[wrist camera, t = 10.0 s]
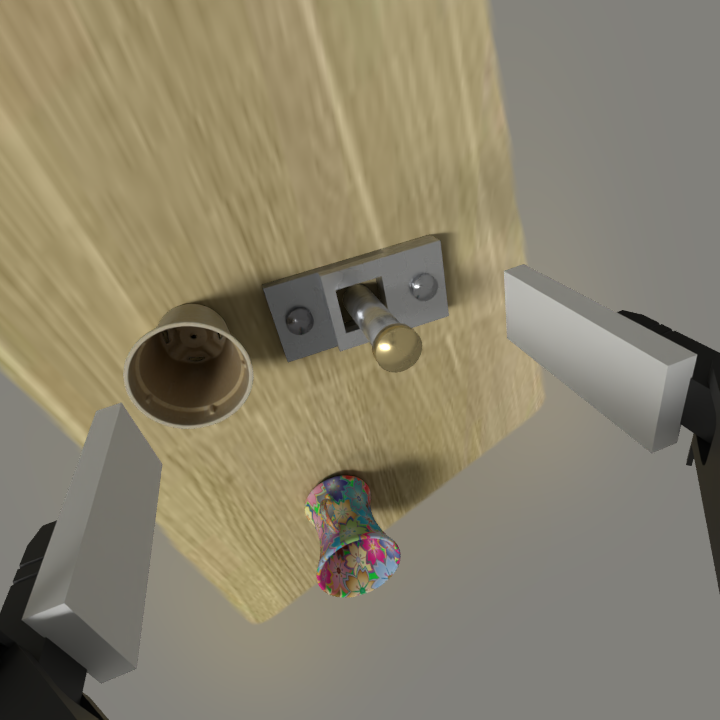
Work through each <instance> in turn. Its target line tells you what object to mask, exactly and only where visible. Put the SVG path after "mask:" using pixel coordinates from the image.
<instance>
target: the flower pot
mask: <svg viewBox="0 0 720 720" xmlns="http://www.w3.org/2000/svg"><path fill="white" fill-rule="evenodd" d="M165 330H166V331H167V332H168V339H169V342H168V343H166V341H165V339H164V336H163V331H165ZM217 333H220V334H222V337H221V339H219V335H218V334H217ZM192 335H195V336H196V338H194V339H193V338H192V337H191V336H192ZM195 357H204V359H202V360H199V361H193V360H190V358H195ZM123 376H124V384H125V388H126V391H127V394H128V396H129V398H130V399H131V401H132V402H133V404H134V405H135V406H136V408H137V409H138V410H140V411H141V412H142V413H143V414H144V415H146V416H147V417H148V418H150V419H152V420H154V421H156V422H157V423H160V424H163V425H166V426H169V427H174V428H181V429H195V428H201V427H206V426H210V425H213V424H216V423H218V422H221V421H223V420H225V419H227V418H228V417H230V416H231V415H233V414H234V413H235V412H236V411H237V410H238V409H239V408H240V407H241V406H242V405H243V404H244V403H245V401H246V400H247V398H248V396H249V394H250V391H251V388H252V385H253V367H252V363H251V360H250V357H249V355H248V353H247V351H246V350H245V348H244V347H243V345H242V344H241V343H240V342H239V341H238V340H237V339H236V338H235V337H234V336H232V335H231V334H230V332H229V330H228V328H227V325H226V323H225V321H224V320H223V318H222V317H221V316H220V315H219V314H218V313H216V312H215V311H214V310H212V309H210V308H209V307H206V306H203V305H199V304H185V305H181V306H177V307H175V308H173V309H171V310H170V311H169V312H167V313H166V314H165V315H164V316H163V317H162V319H161V320H160V322H159V324H158V326H157V327H156V328H155V329H153V330H151V331H150V332H148V333H147V334H145V335H144V336H143V337H142V338H140V339H139V340H138V341H137V342H136V344H135V345H134V346H133V347H132V349H131V351H130V352H129V354H128V356H127V358H126V361H125V365H124V373H123Z"/></svg>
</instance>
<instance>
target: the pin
mask: <svg viewBox="0 0 720 720" xmlns="http://www.w3.org/2000/svg"><path fill="white" fill-rule="evenodd" d="M343 304H344V306H345V308H346V309H347V311H348V312H349V314H350V315H351V316H352V318H353V319H354V321H355V322H356V324H357V325H358V326H359V328H360V329H361V331H362V332H363V333H364V335H365V336H366V338H367V339H368V341H369V342H370V343H371V345H372V352H373V355H374V358H375V359H376V361H377V362H378V364H379V365H380V366H381V367H382V368H383V369H384V370H386V371H389V372H401V371H404V370H407V369H408V368H410V367H411V366H413V365H414V364H415V363H416V361H417V360H418V359H419V357H420V355H421V351H422V342H421V339H420V337H419V335H418V334H417V333H416V332H415V331H414V330H413V329H412V328H411V327H410V326H408V325H406V324H401V323H400V322H399V321H398V320H397V319H396V318H395V317H394V316H393V315H392V314H391V312H390V311H389V310H388V309H387V308H386V307H385V306H384V305H383V304H382V303H381V302H380V301H379V299H378V298H377V297H376V296H375V295H374V294H373V293H372V292H371V291H370V290H369V289H368V288H367V287H366V286H364V285H362V284H355V285H352V286H350V287H349V288H348V289H347V290H346V291H345V293H344V295H343Z"/></svg>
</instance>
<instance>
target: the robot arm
mask: <svg viewBox="0 0 720 720" xmlns="http://www.w3.org/2000/svg"><path fill="white" fill-rule="evenodd" d="M504 281H505V302H506V323H507V338H508V339H509V340H510V341H511V342H513V343H514V344H515V345H516V346H518V347H519V348H520V349H521V350H523V351H524V352H525V353H526V354H528V355H529V356H530V357H531V358H533V359H534V360H535V361H536V362H538V363H539V364H540V365H541V366H543V367H544V368H545V369H546V370H548V371H549V372H550V373H551V374H553V375H554V376H555V377H556V378H558V379H559V380H560V381H561V382H563V383H564V384H565V385H566V386H568V387H569V388H570V389H572V390H573V391H574V392H575V393H576V394H578V395H579V396H580V397H581V398H583V399H584V400H585V401H586V402H588V403H589V404H590V405H592V406H593V407H594V408H595V409H597V410H598V411H599V412H600V413H601V414H603V415H604V416H605V417H607V418H608V419H609V420H610V421H612V422H613V423H614V424H615V425H617V426H618V427H619V428H620V429H622V430H623V431H624V432H625V433H627V434H628V435H629V436H630V437H632V438H633V439H634V440H635V441H637V442H638V443H639V444H640V445H642V446H643V447H644V448H645V449H647V450H648V451H649V452H650V453H653V452H656V451H658V450H661V449H663V448H665V447H668V446H670V445H673V444H675V443H677V440H678V436H679V432H680V427H681V425H683V426H684V427H686V428H687V429H689V430H690V431H692V432H693V433H694V434H693V438H692V442H691V446H690V450H689V454H688V458H687V463H686V465H689V466H692V462H693V459H695V465H696V470H697V475H698V481H699V486H700V491H701V497H702V502H703V507H704V512H705V518H706V523H707V528H708V533H709V539H710V544H711V550H712V555H713V560H714V566H715V571H716V575H717V581H718V587H719V592H720V353H719V352H717V351H715V350H713V349H711V348H709V347H707V346H705V345H703V344H701V343H699V342H697V341H695V340H693V339H690V338H688V337H687V336H684V335H683V334H680V333H678V332H676V331H672V329H670V328H668V327H666V326H664V325H662V324H661V325H659V323H658V322H656V321H654V320H652V319H650V318H648V317H646V316H644V315H642V314H637V313H633V312H628V311H624V310H622V311H619V312H614V311H613V310H611V309H609V308H607V307H605V306H603V305H601V304H599V303H598V302H596V301H594V300H592V299H590V298H588V297H586V296H584V295H582V294H580V293H578V292H576V291H574V290H573V289H571V288H569V287H567V286H565V285H563V284H561V283H559V282H557V281H555V280H553V279H551V278H550V277H548V276H546V275H544V274H542V273H540V272H538V271H536V270H534V269H532V268H530V267H529V266H527V265H525V264H523V265H520V266H517V267H514V268H511V269H508V270H505V271H504ZM161 470H162V463H161V461H160V460H159V458H158V457H157V455H156V454H155V452H154V451H153V449H152V448H151V446H150V445H149V443H148V442H147V440H146V439H145V437H144V436H143V434H142V433H141V431H140V430H139V428H138V427H137V425H136V424H135V422H134V421H133V419H132V418H131V416H130V415H129V413H128V412H127V410H126V409H125V407H124V406H123V404H122V403H119V404H116V405H113V406H110V407H107V408H104V409H101V410H98V411H96V413H95V416H94V419H93V422H92V425H91V427H90V430H89V433H88V436H87V439H86V441H85V444H84V447H83V450H82V453H81V455H80V458H79V461H78V464H77V467H76V469H75V472H74V475H73V478H72V481H71V483H70V486H69V489H68V492H67V495H66V497H65V500H64V503H63V506H62V508H61V511H60V514H59V517H58V520H57V521H54V522H52V523H49V524H46V525H43V526H42V527H41V529H40V530H39V531H38V532H37V534H36V535H35V536H34V538H33V539H32V540H31V542H30V543H29V544H28V546H27V548H26V550H25V553H24V555H23V558H22V560H21V563H20V569H18V570H17V573H16V575H15V578H14V580H13V583H14V585H12V586H11V587H10V590H9V593H8V595H7V597H6V600H5V602H4V605H3V607H2V610H1V612H0V720H109V719H108V718H107V717H106V716H105V715H104V714H103V712H102V711H101V710H100V709H99V708H98V707H97V705H96V704H95V703H94V702H93V701H92V700H91V699H90V697H88V696H87V695H85V694H84V693H83V692H82V691H83V687H84V682H85V677H86V673H89V674H90V675H91V676H92V677H94V678H95V679H96V680H97V681H99V682H100V683H104V682H106V681H108V680H111V679H113V678H116V677H118V676H120V675H123V674H125V673H128V672H130V671H132V670H135V669H136V668H137V661H138V653H139V646H140V638H141V630H142V622H143V614H144V606H145V598H146V590H147V582H148V573H149V566H150V558H151V550H152V542H153V534H154V526H155V518H156V510H157V502H158V494H159V486H160V478H161Z"/></svg>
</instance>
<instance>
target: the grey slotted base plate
mask: <svg viewBox="0 0 720 720" xmlns="http://www.w3.org/2000/svg"><path fill="white" fill-rule="evenodd" d="M374 278H376V282H377V287H378V292H379V297H380V302H381V303H382V304H383V305H384V306H385V307H386V308H387V309H388V310H389V311H390V312H391V314H392V315H393V316H394V317H395V318H396V319H397V320H398V321H399V322H400V323H401V324H406V325H408V326H410V327H411V328H413V327H416V326H419V325H422V324H425V323H428V322H431V321H435V320H438V319H441V318H444V317H447V316H449V313H448V304H447V295H446V286H445V277H444V268H443V260H442V251H441V242H440V240H439V239H437V238H435V237H433V236H431V235H427V236H423V237H420V238H417V239H413V240H410V241H407V242H403V243H400V244H397V245H393V246H390V247H387V248H383V249H380V250H377V251H373V252H370V253H366V254H363V255H360V256H356V257H353V258H350V259H346V260H343V261H340V262H336V263H333V264H330V265H326V266H323V267H320V268H316V269H313V270H310V271H306V272H303V273H299V274H296V275H293V276H289V277H286V278H283V279H279V280H276V281H273V282H269V283H266V284H263V285H262V287H263V290H264V293H265V296H266V299H267V302H268V305H269V308H270V311H271V314H272V317H273V320H274V323H275V326H276V329H277V332H278V335H279V337H280V340H281V343H282V346H283V349H284V352H285V355H286V358H287V361H288V362H291V361H294V360H297V359H300V358H303V357H306V356H309V355H312V354H315V353H318V352H321V351H324V350H327V349H330V348H334V347H338V348H339V350H340V351H343V350H346V349H349V348H352V347H355V346H358V345H361V344H364V343H367V342H369V341H368V339H367V338H366V336H365V335H364V333H363V332H362V331H361V329H360V328H359V326H358V325H357V324H356V322H355V321H354V320H351V321H348V322H345V323H343V319H342V315H341V311H340V307H339V303H338V299H337V295H336V291H335V290H338V289H341V288H345V287H348V286H351V285H354V284H358V283H361V282H364V281H367V280H371V279H374Z"/></svg>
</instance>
